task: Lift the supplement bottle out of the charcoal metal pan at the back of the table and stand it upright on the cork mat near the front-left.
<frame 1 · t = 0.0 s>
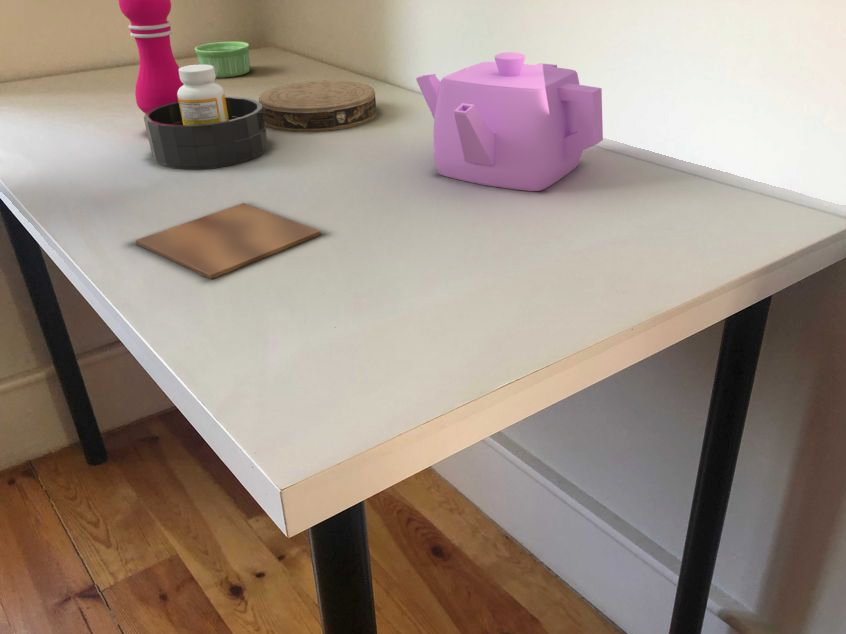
supplement bottle: (211, 150, 97), resting on pan
mat: (229, 239, 74), on the table
wood slice: (320, 117, 111), on the table
pan: (211, 151, 97), on the table
teakettle: (503, 171, 89), on the table
ramekin: (226, 74, 136), on the table
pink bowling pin: (172, 133, 105), on the table
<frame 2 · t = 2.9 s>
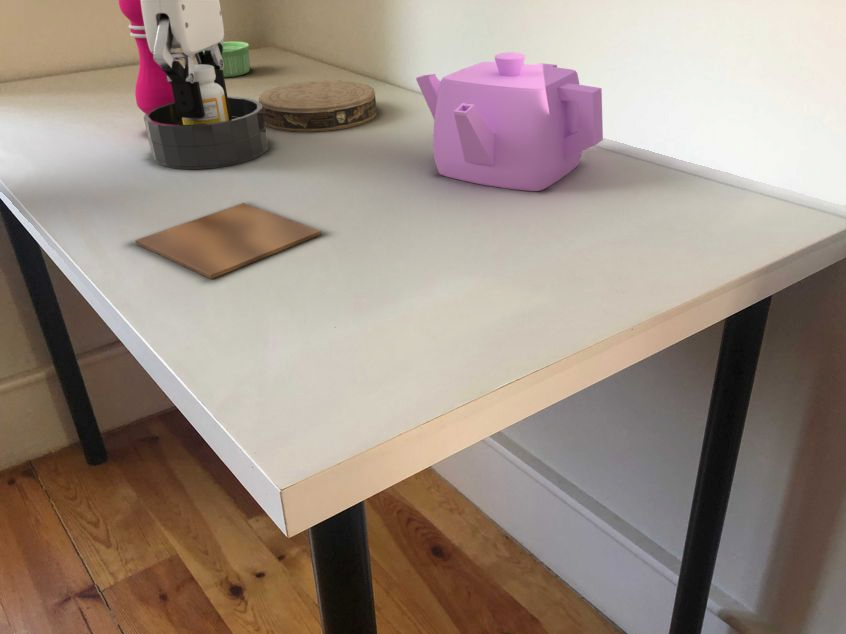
hand: (203, 108, 95), 5 cm above the table, tool pointing down, fingers closed on supplement bottle, 5 cm apart
supplement bottle: (211, 150, 97), resting on pan, touching gripper
everything else where it was.
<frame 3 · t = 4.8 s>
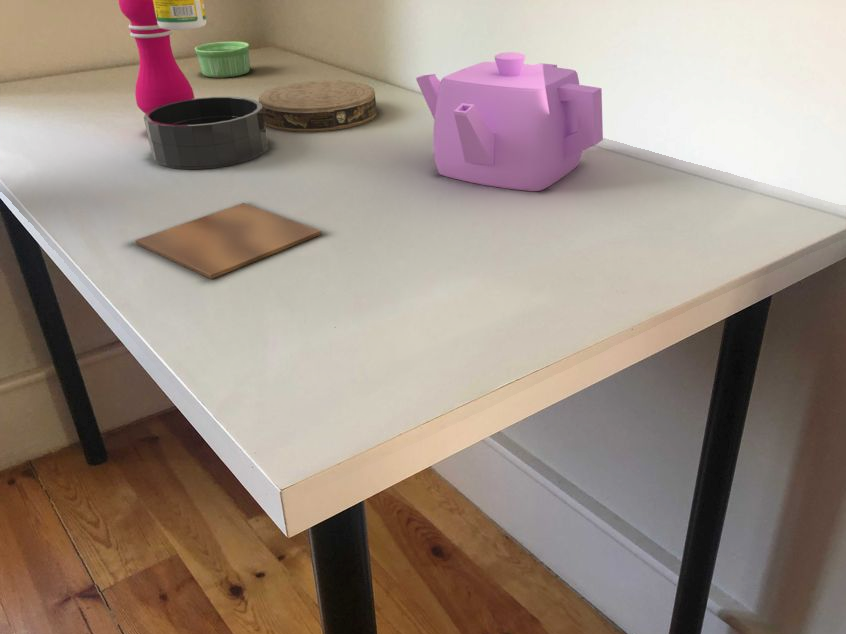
supplement bottle: (183, 28, 89), point 14 cm above the table, touching gripper
everything else where it was.
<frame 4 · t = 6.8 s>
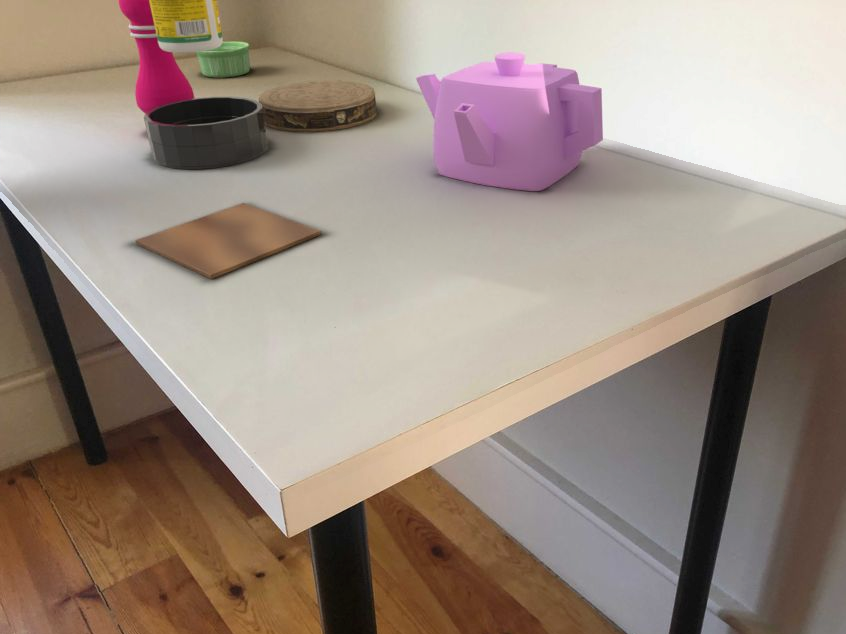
supplement bottle: (192, 49, 68), point 16 cm above the table, touching gripper
everything else where it was.
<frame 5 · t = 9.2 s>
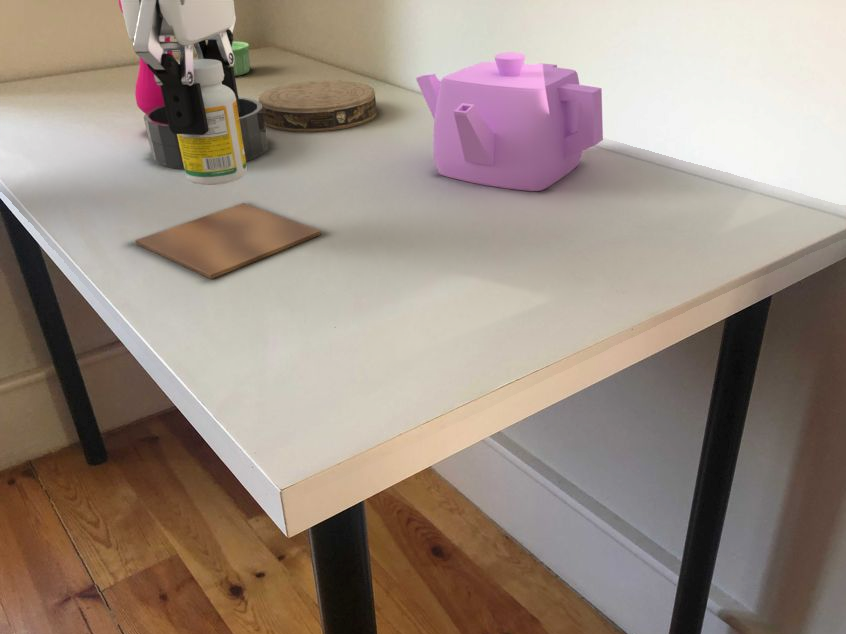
hand: (206, 120, 68), 11 cm above the table, tool pointing down, fingers closed on supplement bottle, 5 cm apart
supplement bottle: (218, 178, 71), point 6 cm above the table, touching gripper
everything else where it was.
when the fingers open (5 cm above the table, at t = 11.0 s): supplement bottle stays where it is, resting on mat.
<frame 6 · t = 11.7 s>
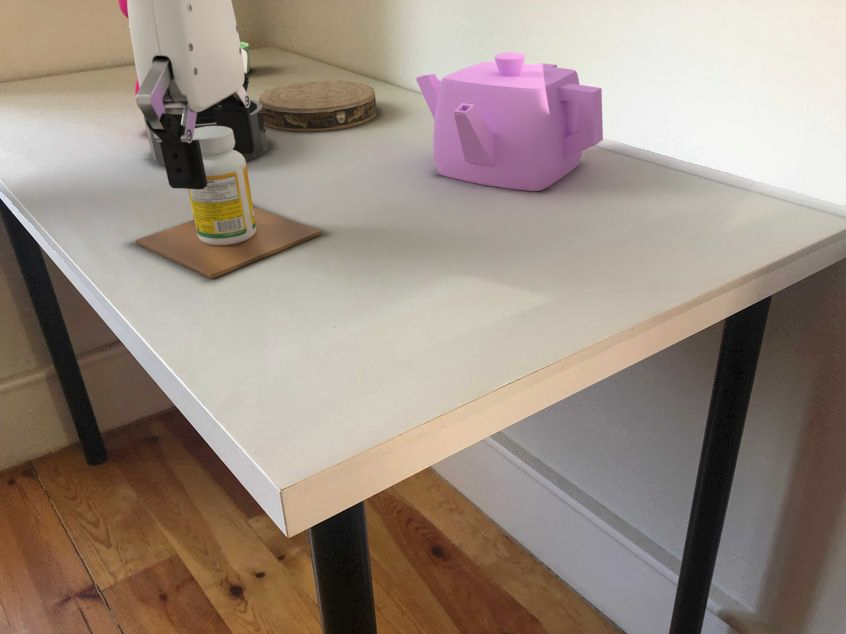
hand: (215, 168, 70), 7 cm above the table, tool pointing down, fingers open, 9 cm apart
supplement bottle: (228, 237, 73), resting on mat
everything else where it was.
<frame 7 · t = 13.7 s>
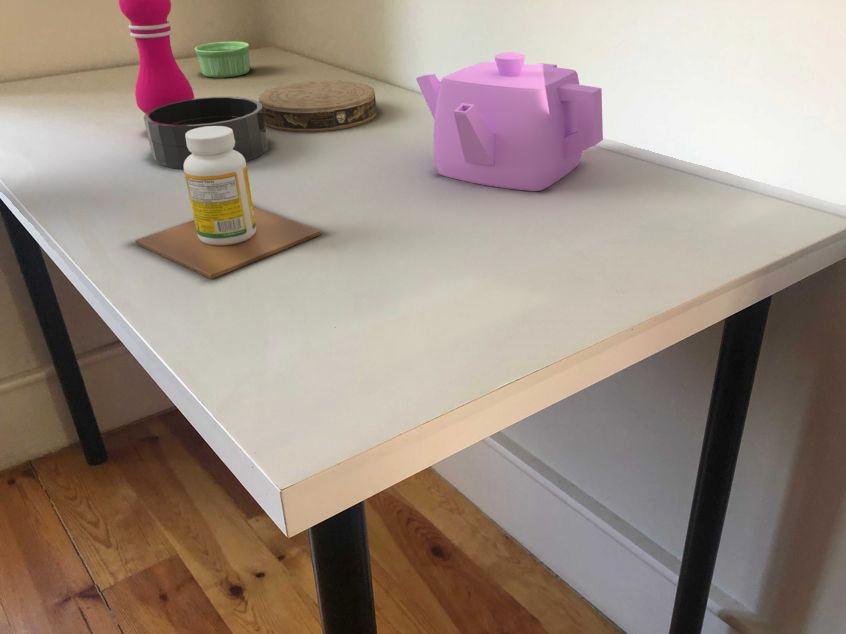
nothing on the table moved.
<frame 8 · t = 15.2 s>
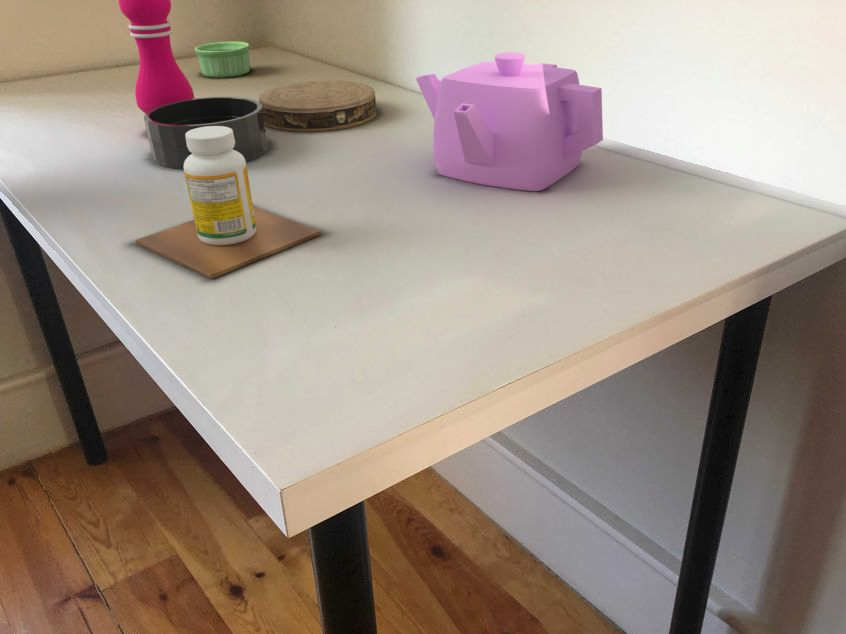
nothing on the table moved.
at the end: supplement bottle inside the target area on the mat (0.0 cm from its centre), point 0.2 cm above the mat's base; supplement bottle tilted 0° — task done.
